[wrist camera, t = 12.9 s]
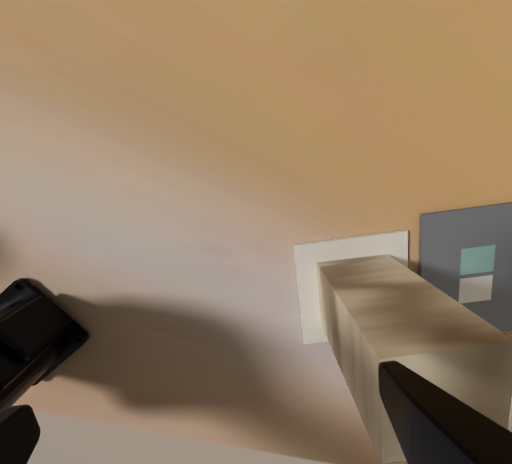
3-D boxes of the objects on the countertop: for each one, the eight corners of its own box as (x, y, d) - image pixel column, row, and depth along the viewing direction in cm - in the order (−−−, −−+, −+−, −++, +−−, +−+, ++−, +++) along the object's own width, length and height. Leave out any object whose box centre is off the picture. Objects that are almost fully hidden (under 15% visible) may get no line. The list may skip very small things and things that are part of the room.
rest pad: (302, 341, 22) (303, 344, 21) (292, 244, 20) (293, 245, 19) (405, 329, 22) (407, 331, 21) (405, 229, 20) (407, 230, 19)
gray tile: (418, 338, 22) (420, 341, 22) (419, 214, 19) (422, 215, 19) (559, 321, 22) (563, 323, 21) (579, 193, 19) (584, 194, 19)
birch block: (321, 324, 21) (381, 463, 11) (316, 262, 20) (379, 359, 10) (387, 316, 21) (504, 449, 11) (386, 254, 20) (518, 342, 10)
